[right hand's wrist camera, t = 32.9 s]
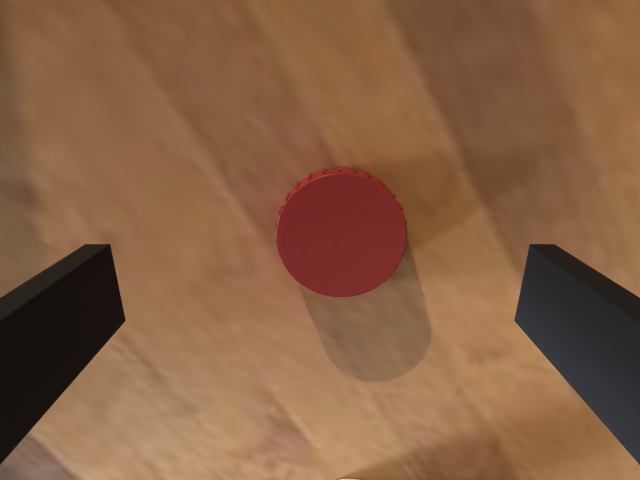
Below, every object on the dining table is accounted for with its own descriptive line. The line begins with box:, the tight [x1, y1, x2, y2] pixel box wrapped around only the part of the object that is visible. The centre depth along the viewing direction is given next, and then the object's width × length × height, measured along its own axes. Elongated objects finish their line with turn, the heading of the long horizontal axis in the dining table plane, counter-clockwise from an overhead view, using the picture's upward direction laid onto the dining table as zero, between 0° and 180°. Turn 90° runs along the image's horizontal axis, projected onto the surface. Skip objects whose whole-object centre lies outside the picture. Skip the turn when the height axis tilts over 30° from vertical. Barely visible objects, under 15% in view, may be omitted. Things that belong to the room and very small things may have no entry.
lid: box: [276, 166, 407, 297], centre depth 18 cm, size 6×6×2 cm
